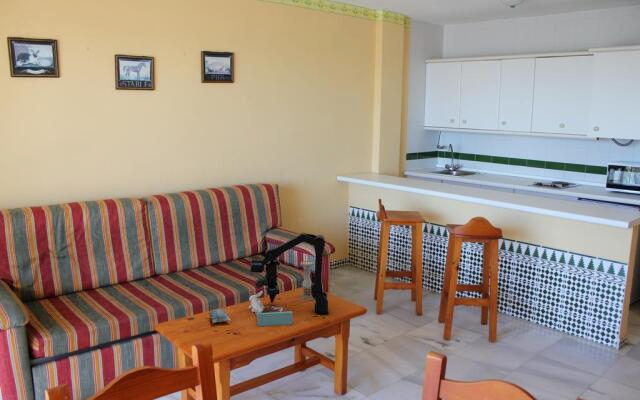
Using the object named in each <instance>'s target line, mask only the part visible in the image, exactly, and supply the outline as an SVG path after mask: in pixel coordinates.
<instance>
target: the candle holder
mask: <svg viewBox="0 0 640 400" xmlns="http://www.w3.org/2000/svg"><path fill="white" fill-rule="evenodd" d="M300 266H302V267H303V268H304V271H303V273H304V279H303V281H302V284H301V286H302V287H303V289H302V291H303V293H301V294H300V295H299V299H300V300H302V301H313V300H314V301H315V299H314V298H313V297H312V293H311V283H313V282H312V280H311V273H312V272H311V268H312V266H315V261H312V260H303V261H301V262H300Z"/></svg>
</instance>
